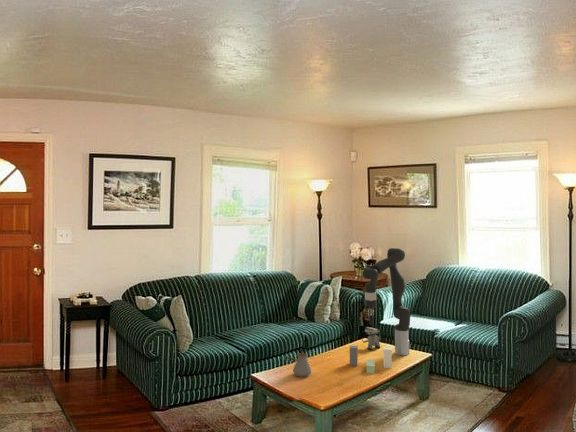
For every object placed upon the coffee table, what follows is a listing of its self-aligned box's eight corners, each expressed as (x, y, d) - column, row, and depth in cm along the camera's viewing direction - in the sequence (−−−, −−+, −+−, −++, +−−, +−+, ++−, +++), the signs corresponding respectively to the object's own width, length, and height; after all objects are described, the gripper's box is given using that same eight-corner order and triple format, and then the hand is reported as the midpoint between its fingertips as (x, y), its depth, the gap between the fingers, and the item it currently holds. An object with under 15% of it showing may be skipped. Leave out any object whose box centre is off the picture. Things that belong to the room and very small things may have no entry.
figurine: (370, 345, 376) (370, 325, 376) (381, 349, 367) (381, 328, 366) (361, 347, 371) (361, 327, 370) (373, 351, 362) (373, 330, 361)
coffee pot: (300, 370, 322) (300, 347, 321) (315, 374, 314) (315, 350, 313) (278, 379, 305) (278, 355, 305) (293, 384, 298) (293, 359, 297)
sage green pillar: (366, 359, 329) (366, 365, 317) (374, 359, 328) (374, 366, 316) (366, 367, 329) (366, 373, 317) (374, 367, 328) (374, 373, 316)
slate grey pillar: (349, 363, 336) (350, 345, 335) (357, 363, 335) (357, 345, 334) (349, 365, 331) (349, 347, 330) (357, 366, 330) (357, 348, 330)
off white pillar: (383, 365, 332) (383, 347, 332) (391, 365, 332) (391, 347, 331) (383, 367, 327) (383, 349, 327) (391, 368, 327) (391, 349, 326)
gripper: (364, 296, 339) (365, 321, 340) (365, 300, 326) (365, 327, 327) (376, 296, 338) (376, 322, 339) (376, 300, 325) (377, 327, 326)
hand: (371, 324), depth 333 cm, fingers closed
